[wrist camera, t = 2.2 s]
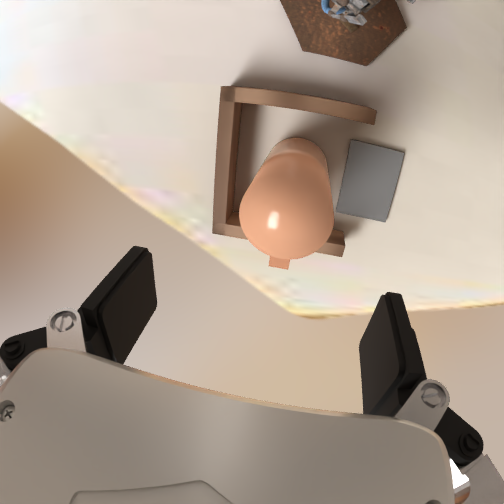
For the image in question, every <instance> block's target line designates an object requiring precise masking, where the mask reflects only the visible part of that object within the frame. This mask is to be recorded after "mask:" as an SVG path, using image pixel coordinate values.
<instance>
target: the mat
mask: <svg viewBox="0 0 504 504" xmlns="http://www.w3.org/2000/svg"><path fill="white" fill-rule="evenodd" d="M403 157H404V153H403V152H400V151H396V150H393V149H389V148H385V147H381V146H377V145H373V144H369V143H365V142H360V141H356V140H351V142H350V147H349V152H348V157H347V162H346V167H345V172H344V176H343V181H342V186H341V190H340V195H339V199H338V203H337V208H336V212H338V213H343V214H348V215H353V216H358V217H363V218H367V219H372V220H376V221H381V222H386V219H387V215H388V212H389V209H390V205H391V202H392V198H393V195H394V191H395V188H396V184H397V180H398V177H399V173H400V169H401V165H402V161H403Z"/></svg>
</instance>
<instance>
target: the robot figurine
mask: <svg viewBox="0 0 504 504" xmlns="http://www.w3.org/2000/svg"><path fill="white" fill-rule="evenodd" d="M280 1H281V3H282V5H283V8H284V10H285V12H286V14H287V16H288V18H289V20H290V23H291V25H292V27H293V29H294V31H295V34H296V36H297V38H298V41H299V43H300V45H301V48H302V50H303V51H306V52H311V53H316V54H321V55H325V56H329V57H334V58H338V59H342V60H345V61H349V62H353V63H357V64H360V65H364V66H367V65H368V64H369V63H370V62H371V61H372V60H374V59H375V58H376V57H377V56H378V55H379V54H380V53H381V52H382V51H383V50H384V49H385V48H386V47H387V46H388V45H389V44H390V43H391V42H392V41H393V40H394V39H395V38H396V37H397V36H399V35H400V34H401V33H402V32H403V31H404V30H405V29H406V28H407V27H406V25H405V22H404V20H403V17H402V15H401V13H400V10H399V8H398V6H397V3H396V1H395V0H280ZM407 1H408V2H410V3H412V4H413V3H414V2H415V1H416V0H407Z"/></svg>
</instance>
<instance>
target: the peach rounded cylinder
mask: <svg viewBox="0 0 504 504" xmlns="http://www.w3.org/2000/svg"><path fill="white" fill-rule="evenodd" d="M239 219H240V224H241V227H242V230H243V232H244V234H245V236H246V237H247V239H248V240H249V241H250V242H251V243H252V244H253V246H255V247H256V248H257V249H258V250H260V251H261V252H263V253H265V254H267V255H269V256H270V261H269V266H271V267H277V268H282V269H287V270H288V267H289V262H290V259H298V258H303V257H305V256H308V255H310V254H312V253H314V252H316V251H317V250H318V249H320V248H321V247H322V246H323V245H324V244H325V243H326V241H327V240H328V238H329V236H330V234H331V232H332V229H333V225H334V211H333V203H332V195H331V188H330V180H329V173H328V167H327V161H326V158H325V155H324V153H323V152H322V150H321V149H320V148H319V147H318V146H317V145H316V144H314V143H313V142H311V141H309V140H307V139H303V138H288V139H285V140H283V141H281V142H279V143H278V144H277V145H275V146H274V147H273V149H272V150H271V151H270V153H269V155H268V156H267V158H266V160H265V161H264V163H263V164H262V166H261V168H260V169H259V171H258V173H257V174H256V176H255V178H254V179H253V181H252V183H251V184H250V186H249V188H248V189H247V191H246V193H245V194H244V196H243V198H242V201H241V204H240V209H239Z"/></svg>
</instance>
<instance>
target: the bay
mask: <svg viewBox="0 0 504 504" xmlns="http://www.w3.org/2000/svg"><path fill="white" fill-rule="evenodd" d="M242 103H251V104H260V105H268V106H276V107H283V108H290V109H297V110H303V111H309V112H315V113H320V114H326V115H331V116H336V117H341V118H345V119H350V120H354V121H359V122H363V123H367V124H371V125H374V124H375V118H376V113H377V111H376V110H374V109H372V108H369V107H365V106H360V105H356V104H352V103H347V102H343V101H338V100H333V99H328V98H322V97H317V96H311V95H305V94H299V93H292V92H285V91H277V90H269V89H260V88H250V87H238V86H222V87H221V93H220V105H219V119H218V133H217V148H216V165H215V184H214V205H213V230H212V233H213V234H219V235H225V236H230V237H236V238H241V239H247V237H246V236H245V234H244V232H243V230H242V227H241V224H240V219H239V213H238V212H233V203H234V190H235V177H236V165H237V153H238V142H239V130H240V119H241V108H242ZM247 240H248V239H247ZM344 249H345V241H344V234H343V231H338V230H333V229H332V232H331V234H330V236H329V238H328V240H327V241H326V243H325V244H324V245H323V246H322V247H321V248H320V249H318V250H317V251H316V252H318V253H323V254H328V255H334V256H339V257H342V255H343V252H344Z"/></svg>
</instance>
